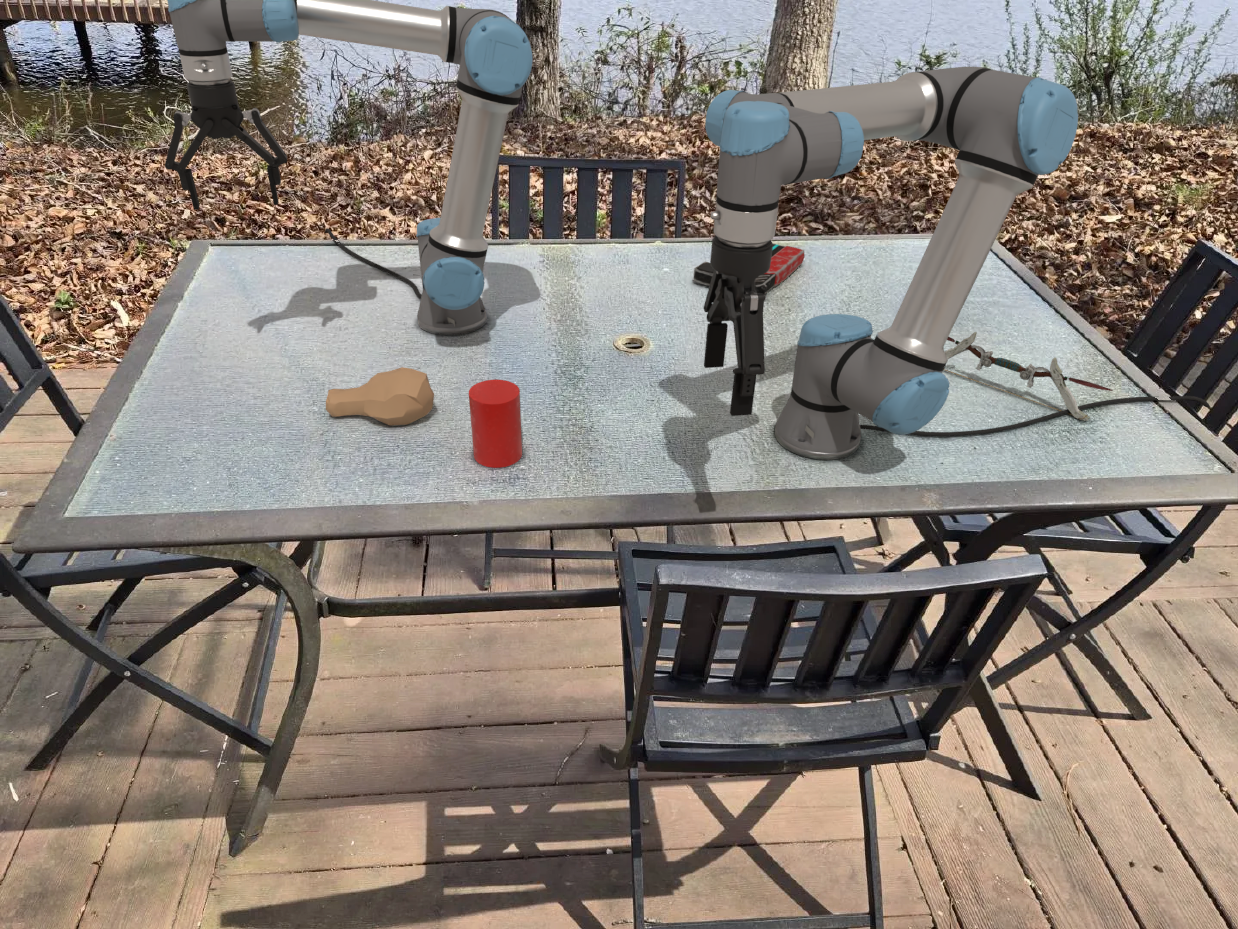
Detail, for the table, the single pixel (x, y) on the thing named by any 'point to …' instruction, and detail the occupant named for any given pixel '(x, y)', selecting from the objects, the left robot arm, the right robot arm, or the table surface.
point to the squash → (386, 397)
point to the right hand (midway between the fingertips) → (726, 389)
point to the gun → (780, 269)
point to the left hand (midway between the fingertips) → (237, 205)
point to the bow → (1024, 373)
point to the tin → (496, 423)
